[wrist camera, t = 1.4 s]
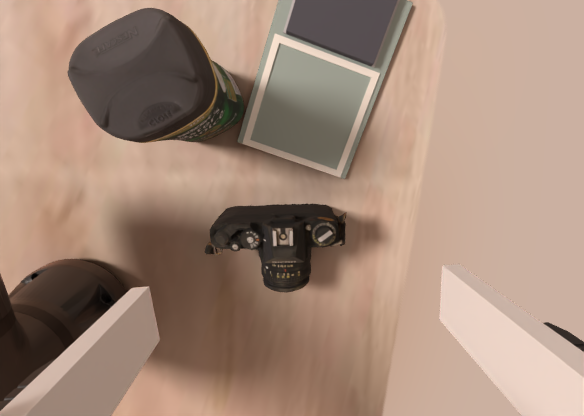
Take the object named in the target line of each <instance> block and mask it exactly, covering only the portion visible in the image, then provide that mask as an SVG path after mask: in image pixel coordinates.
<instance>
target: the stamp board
mask: <svg viewBox="0 0 584 416" xmlns="http://www.w3.org/2000/svg"><path fill="white" fill-rule="evenodd" d="M292 1H293V0H279V1H278V4H277V8H276V11H275V14H274V18H273V21H272V25H271V28H270V32H269V35H268V38H267V42H266V45H265V49H264V52H263V56H262V59H261V62H260V66H259V69H258V73H257V76H256V80H255V83H254V86H253V90H252V93H251V97H250V100H249V104H248V107H247V110H246V114H245V117H244V121H243V124H242V128H241V131H240V134H239V138H238V141H237V142H239V143H242V144H244V145H247V146H250V147H253V148H256V149H259V150H262V151H265V152H268V153H270V154H273V155H276V156H279V157H282V158H285V159H288V160H291V161H294V162H296V163H299V164H302V165H305V166H308V167H311V168H314V169H317V170H320V171H322V172H325V173H328V174H331V175H334V176H337V177H340V178H343V179H345V177H346V175H347V172H348V170H349V167H350V164H351V162H352V159H353V157H354V154H355V151H356V149H357V146H358V144H359V141H360V138H361V136H362V133H363V131H364V128H365V126H366V123H367V120H368V118H369V115H370V113H371V110H372V107H373V105H374V102H375V100H376V97H377V94H378V92H379V89H380V87H381V84H382V81H383V79H384V76H385V74H386V71H387V68H388V66H389V63H390V61H391V58H392V55H393V53H394V50H395V48H396V45H397V42H398V40H399V37H400V35H401V32H402V29H403V27H404V24H405V22H406V19H407V16H408V14H409V11H410V9H411V6H412V2H410V1H407V0H400V1H399V4H398V6H397V9H396V12H395V14H394V17H393V20H392V22H391V25H390V28H389V30H388V33H387V36H386V38H385V41H384V44H383V46H382V49H381V52H380V54H379V57H378V60H377V62H376V65H375V67H374V68H373V67H371V66H368V65H366V64H363V63H360V62H358V61H355V60H352V59H350V58H347V57H345V56H342V55H339V54H337V53H334V52H331V51H329V50H326V49H324V48H321V47H318V46H316V45H313V44H310V43H308V42H305V41H303V40H300V39H297V38H295V37H292V36H289V35H287V34H284V33H283V31H284V27H285V24H286V21H287V17H288V14H289V11H290V8H291V4H292Z"/></svg>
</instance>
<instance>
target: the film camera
mask: <svg viewBox="0 0 584 416" xmlns="http://www.w3.org/2000/svg"><path fill="white" fill-rule="evenodd" d="M345 218H346V213H344V214H343V215H341V216H339V217H338V216H335V215H334V214H333V211H332V209H331V208H330V207H329V206H326V205H318V204H309V205H308V204H301V205H299V204H298V205H296V204H292V205H286V204H285V205H267V206H235V207H230V208H227V209H226V210H225V211H224V212H223V213H222V214H221V215H220V216H219V218H218V219H217V220H216V221H215V223H214V224H213V225H212V227H211V229H210V238H211V242H209V243H208V244H207V246H206V249H205V253H206V254H214V255H220V254H221V253H222V250H223V249H231V250H232V251H239V250H240V249H251V250H259V256H260V258H261V263H262V275H263V277H264V278H263V281H264V285H265V286H266V287H268V288H270V289H271V290H274V291H278V292H292V291H295V290H298V289H301V288H303V287H304V286H305V285H306V284H307V283H308V282H309V275H310V273H311V264H310V259H311V247H327V246H335V245H339V244H340V246H342V245H344V244H345V226H346V224H345V221H344V220H345ZM216 247H217V248H220V249H221V252H217V249H216Z"/></svg>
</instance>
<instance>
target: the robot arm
mask: <svg viewBox="0 0 584 416" xmlns="http://www.w3.org/2000/svg"><path fill="white" fill-rule="evenodd" d="M439 320H440V321H441V322H442V323H443V324H444V325H445V327H446V328H447V329H448V330H449V331H450V332H451V334H452V335H453V336H454V337H455V338H456V340H457V341H458V342H459V343H460V344H461V345H462V346H463V348H464V349H465V350H466V351H467V352H468V354H469V355H470V356H471V357H472V358H473V359H474V361H475V362H476V363H477V364H478V365H479V366H480V368H481V369H482V370H483V371H484V372H485V373H486V375H487V376H488V377H489V378H490V379H491V380H492V382H493V383H494V384H495V385H496V386H497V388H498V389H499V390H500V391H501V392H502V393H503V395H504V396H505V397H506V398H507V399H508V400H509V402H510V403H511V404H512V405H513V406H514V407H515V409H516V410H517V411H518V412H519V413H520V414H521V416H584V342H583V341H581V340H580V339H578V338H577V337H576V336H574V335H572V334H571V333H570V332H568V331H566V330H563V329H561V328H559V327H557V326H555V325H552V324H550V323H542V322H541V321H539V320H538V319H536V318H535V317H534V316H532V315H531V314H529V313H528V312H527V311H525V310H524V309H522V308H521V307H520V306H518V305H517V304H515V303H514V302H513V301H511V300H510V299H508V298H507V297H505V296H504V295H503V294H501V293H500V292H498V291H497V290H496V289H494V288H493V287H491V286H490V285H489V284H487V283H486V282H484V281H483V280H481V279H480V278H479V277H477V276H476V275H474V274H473V273H472V272H470V271H469V270H467V269H466V268H465V267H463V266H462V265H460V264H451V265H442V280H441V301H440V319H439ZM159 341H160V337H159V332H158V327H157V322H156V317H155V312H154V307H153V302H152V298H151V293H150V288H149V286H148V287H135V288H131V289H130V290H129V291H128V292H126V291H125V289H124V287H123V286H122V284H121V283H120V282H119V281H118V280H117V279H116V278H115V277H114V276H113V275H112V274H111V273H109V272H108V271H107V270H105V269H104V268H102V267H100V266H98V265H96V264H93V263H91V262H87V261H83V260H77V259H64V260H58V261H55V262H52V263H49V264H47V265H45V266H43V267H41V268H39V269H37V270H35V271H34V272H32V273H31V274H29V275H28V276H27V277H26V278H24V279H23V280H22V281H21V283H20V284H19V285H18V286H17V287H16V288H15V289H14V290H13V291H12V292H11V293H10V294H9V295H8V293H7V291H6V288H5V285H4V282H3V279H2V277H1V274H0V416H111V415H112V414H113V412H114V411H115V409H116V407H117V406H118V404H119V403H120V401H121V400H122V398H123V397H124V395H125V394H126V392H127V390H128V389H129V387H130V386H131V384H132V383H133V381H134V380H135V378H136V376H137V375H138V373H139V372H140V370H141V369H142V367H143V366H144V364H145V363H146V361H147V359H148V358H149V356H150V355H151V353H152V352H153V350H154V349H155V347H156V345H157V344H158V342H159Z"/></svg>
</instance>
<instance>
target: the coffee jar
mask: <svg viewBox="0 0 584 416" xmlns="http://www.w3.org/2000/svg"><path fill="white" fill-rule="evenodd" d="M68 76H69V79H70V81H71V83H72V85H73V87H74V89H75V91H76V93H77V95H78V97H79V99H80V100H81V102H82V104H83V105H84V107H85V108H86V110H87V112H88V113H89V114H90V116H91V117H92V119H93V120H94V121H95V123H96V124H97V125H98V126H99V127H100V128H102V129H103V130H104V131H106V132H107V133H109V134H111V135H113V136H115V137H117V138H120V139H123V140H128V141H133V142H139V143H146V142H154V141H162V140H182V141H188V142H199V141H203V140H206V139H209V138H212V137H214V136H216V135H218V134H220V133H222V132H224V131H226V130H228V129H229V128H231V127H232V126H234V125H235V124H236V123H237V122H238V121H239V120H240V119H241V117H242V115H243V111H244V104H243V99H242V96H241V94H240V91H239V89H238V87H237V85H236V83H235V81H234V80H233V78H232V77H231V75H230V74H229V73H228V72H227V71H226V70H225V69H224V68H223V67H221V66H220V65H218V64H217V63H215V62H214V61H212V60H211V59H210V57H209V55H208V53H207V51H206V49H205V48H204V46H203V45H202V43H201V41H200V40H199V38H198V37H197V36H196V34H195V33H194V32H193V31H192V30H191V29H190V28H189V27H188V26H186V25H185V24H183V23H182V22H181V21H179V20H178V19H176V18H175V17H174V16H172V15H171V14H169V13H167V12H165V11H162V10H160V9H155V8H145V9H140V10H138V11H135V12H133V13H131V14H128V15H126V16H124V17H122V18H120V19H118V20H116V21H114V22H112V23H110V24H108V25H107V26H105V27H103V28H102V29H100V30H98V31H97V32H95V33H94V34H92V35H91V36H89V37H87V38H86V39H85V40H83V41H82V42H81V43H80V44H79V45H78V46H77V47H76V49H75V51H74V52H73V54H72V56H71V59H70V62H69V70H68Z"/></svg>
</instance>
